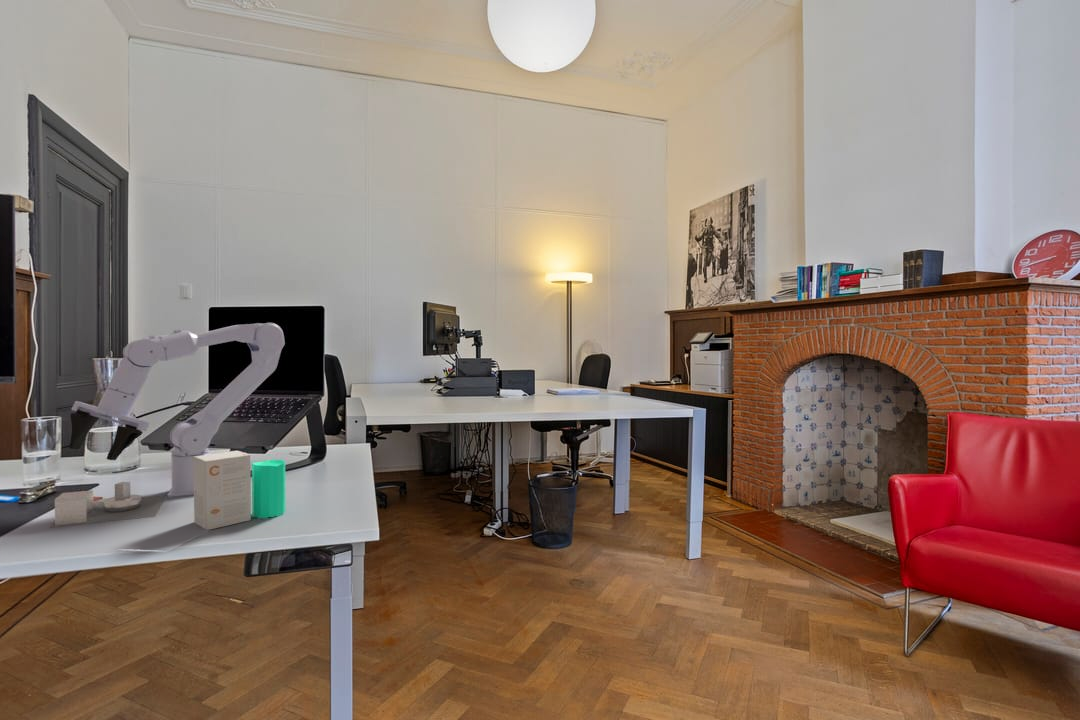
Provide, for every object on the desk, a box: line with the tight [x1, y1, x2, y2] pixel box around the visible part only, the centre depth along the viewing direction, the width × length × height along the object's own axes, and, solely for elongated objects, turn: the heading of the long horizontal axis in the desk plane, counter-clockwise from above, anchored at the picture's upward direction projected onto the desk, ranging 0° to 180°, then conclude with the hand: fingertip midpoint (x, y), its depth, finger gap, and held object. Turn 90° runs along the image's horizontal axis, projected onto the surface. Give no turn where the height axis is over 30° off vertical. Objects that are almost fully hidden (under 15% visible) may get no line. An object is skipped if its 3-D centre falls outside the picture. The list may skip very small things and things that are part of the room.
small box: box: [193, 450, 252, 531], centre depth 105 cm, size 8×6×13 cm
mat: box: [48, 495, 168, 529], centre depth 111 cm, size 16×16×1 cm
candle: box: [251, 454, 286, 519], centre depth 111 cm, size 6×6×12 cm
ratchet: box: [93, 481, 142, 513], centre depth 112 cm, size 13×6×5 cm, turn 87°
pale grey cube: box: [54, 490, 94, 526], centre depth 104 cm, size 5×5×5 cm
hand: (92, 454), depth 113 cm, fingers open, 7 cm apart
